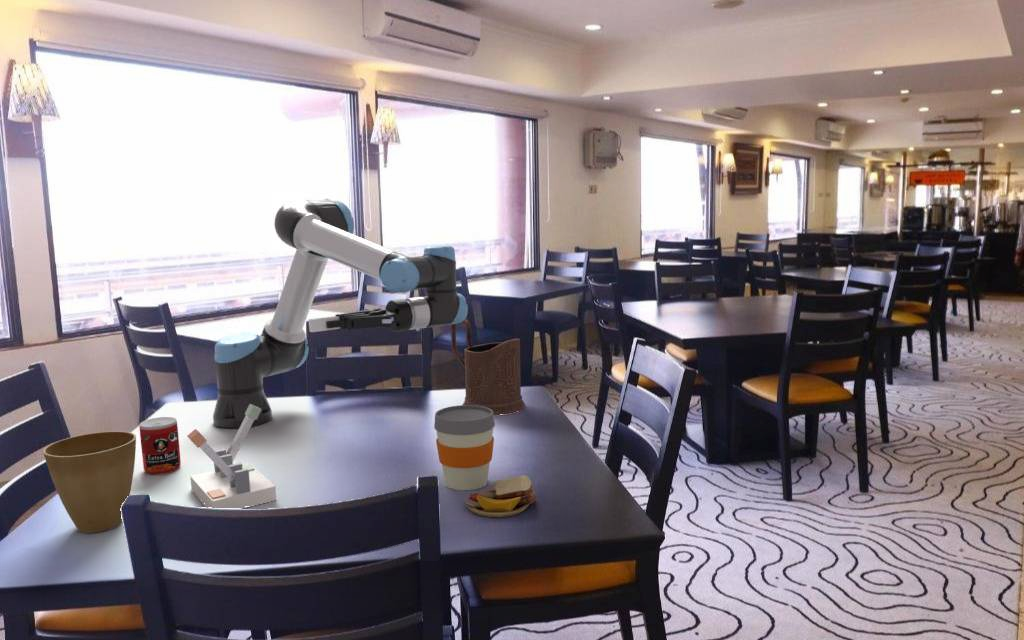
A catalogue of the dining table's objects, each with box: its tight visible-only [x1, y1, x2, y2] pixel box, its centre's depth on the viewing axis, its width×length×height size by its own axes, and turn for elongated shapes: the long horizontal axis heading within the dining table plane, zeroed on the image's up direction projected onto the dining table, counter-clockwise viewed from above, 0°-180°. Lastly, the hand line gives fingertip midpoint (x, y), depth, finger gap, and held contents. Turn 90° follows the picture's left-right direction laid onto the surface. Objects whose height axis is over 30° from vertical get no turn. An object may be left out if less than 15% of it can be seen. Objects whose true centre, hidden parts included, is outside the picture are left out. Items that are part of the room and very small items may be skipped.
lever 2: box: [226, 404, 262, 462], centre depth 158 cm, size 2×2×15 cm
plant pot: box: [42, 430, 137, 534], centre depth 139 cm, size 15×15×16 cm
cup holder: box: [450, 318, 527, 416], centre depth 215 cm, size 18×24×25 cm
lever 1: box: [186, 428, 236, 485], centre depth 145 cm, size 2×2×15 cm
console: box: [190, 448, 277, 509], centre depth 153 cm, size 17×12×7 cm
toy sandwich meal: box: [465, 474, 537, 518], centre depth 146 cm, size 12×14×5 cm
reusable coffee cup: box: [433, 404, 496, 491], centre depth 157 cm, size 13×13×15 cm
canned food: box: [139, 416, 182, 476], centre depth 169 cm, size 8×8×11 cm
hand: (310, 325), depth 164 cm, fingers closed
